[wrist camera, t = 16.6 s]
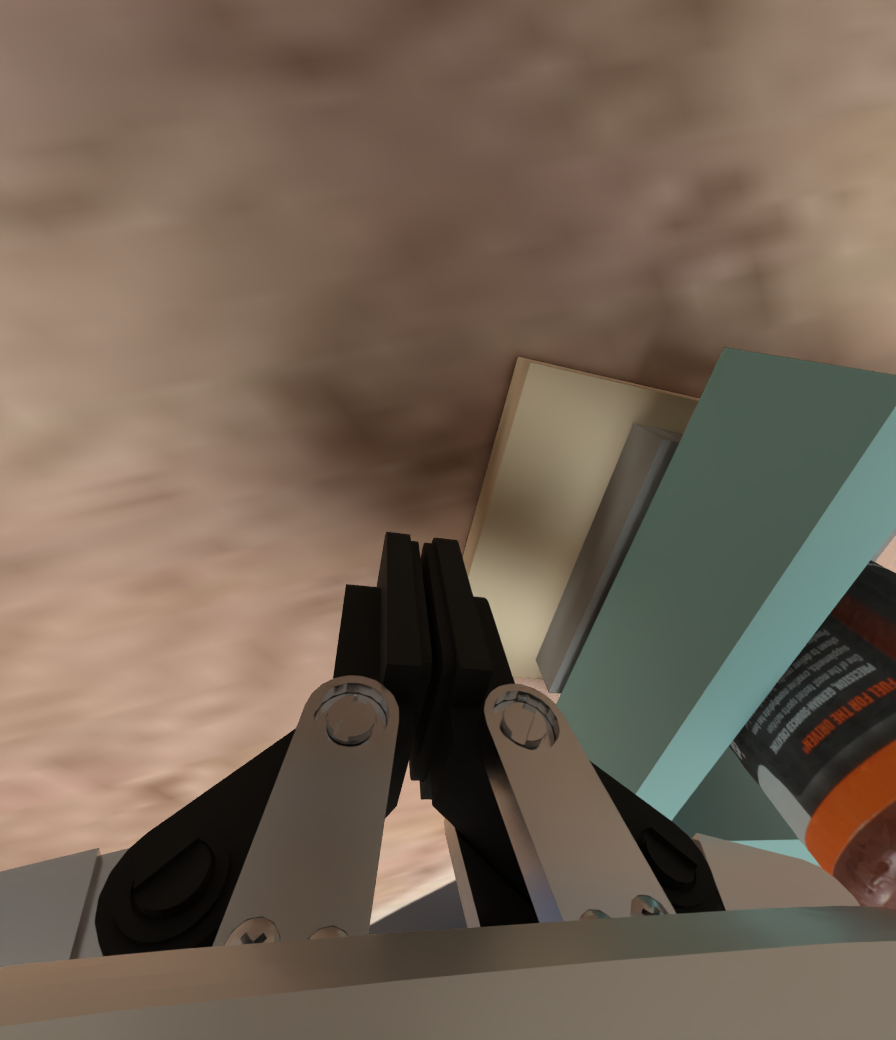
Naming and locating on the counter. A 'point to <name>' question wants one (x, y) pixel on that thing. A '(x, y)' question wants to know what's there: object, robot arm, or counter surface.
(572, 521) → the housing base
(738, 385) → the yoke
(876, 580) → the supplement bottle
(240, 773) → the robot arm
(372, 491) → the counter surface
